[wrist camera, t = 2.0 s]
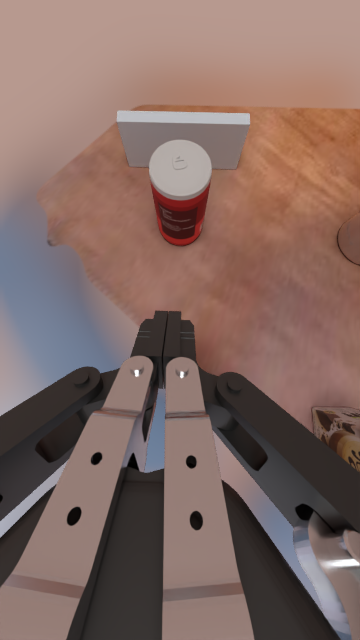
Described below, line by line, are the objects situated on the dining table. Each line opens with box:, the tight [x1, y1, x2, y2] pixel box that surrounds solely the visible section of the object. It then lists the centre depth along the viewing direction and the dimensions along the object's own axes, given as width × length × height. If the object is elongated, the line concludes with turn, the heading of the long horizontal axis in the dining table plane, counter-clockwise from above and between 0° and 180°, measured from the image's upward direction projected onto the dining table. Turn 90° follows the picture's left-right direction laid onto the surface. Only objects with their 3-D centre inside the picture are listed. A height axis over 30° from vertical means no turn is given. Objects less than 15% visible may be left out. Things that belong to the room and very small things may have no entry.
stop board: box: [117, 111, 250, 169], centre depth 32 cm, size 20×7×7 cm, turn 88°
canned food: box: [149, 140, 212, 246], centre depth 27 cm, size 8×8×11 cm
